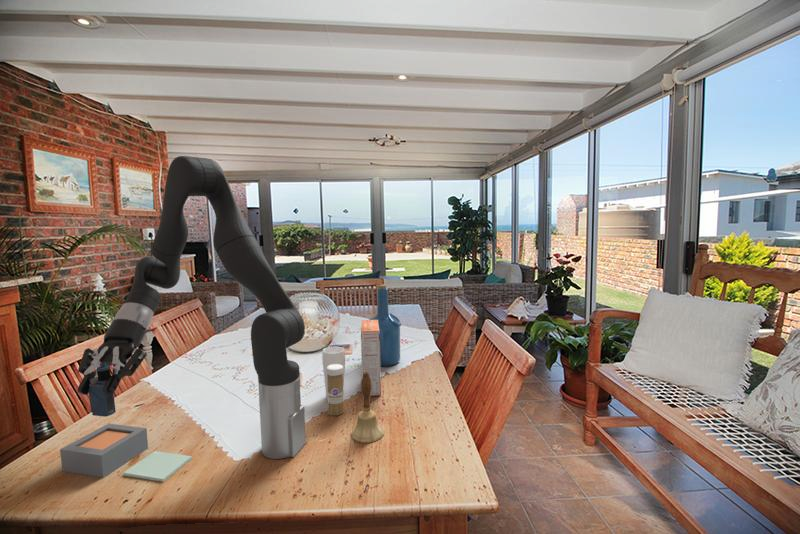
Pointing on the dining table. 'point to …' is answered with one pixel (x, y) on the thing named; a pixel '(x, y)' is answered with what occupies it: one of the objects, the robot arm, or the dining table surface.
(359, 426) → the hand bell
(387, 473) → the dining table surface
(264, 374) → the robot arm
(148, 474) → the pad
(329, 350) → the drinking glass
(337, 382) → the sprinkles bottle
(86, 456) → the box
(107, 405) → the vaping device
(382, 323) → the wine bottle
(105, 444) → the button
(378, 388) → the cracker box
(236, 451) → the dining table surface
